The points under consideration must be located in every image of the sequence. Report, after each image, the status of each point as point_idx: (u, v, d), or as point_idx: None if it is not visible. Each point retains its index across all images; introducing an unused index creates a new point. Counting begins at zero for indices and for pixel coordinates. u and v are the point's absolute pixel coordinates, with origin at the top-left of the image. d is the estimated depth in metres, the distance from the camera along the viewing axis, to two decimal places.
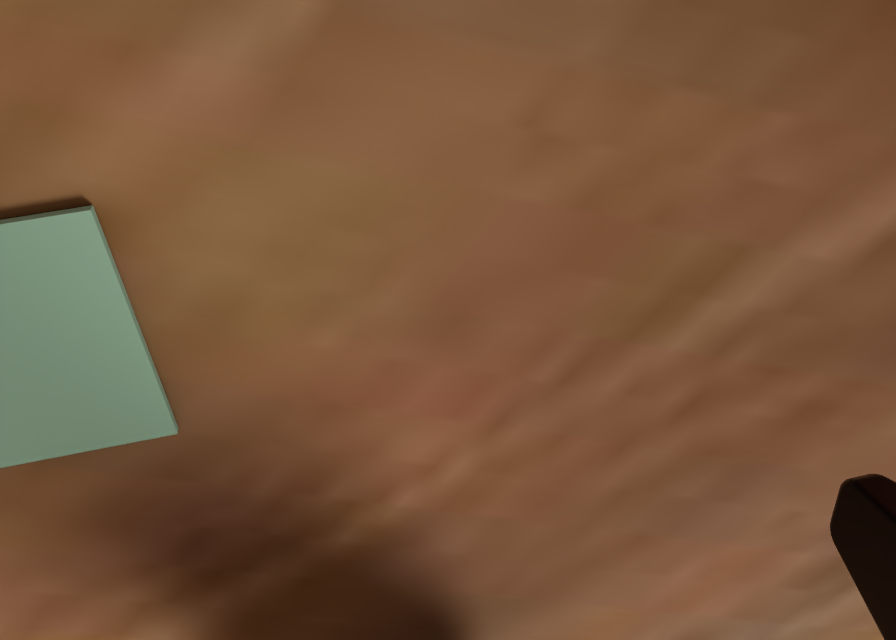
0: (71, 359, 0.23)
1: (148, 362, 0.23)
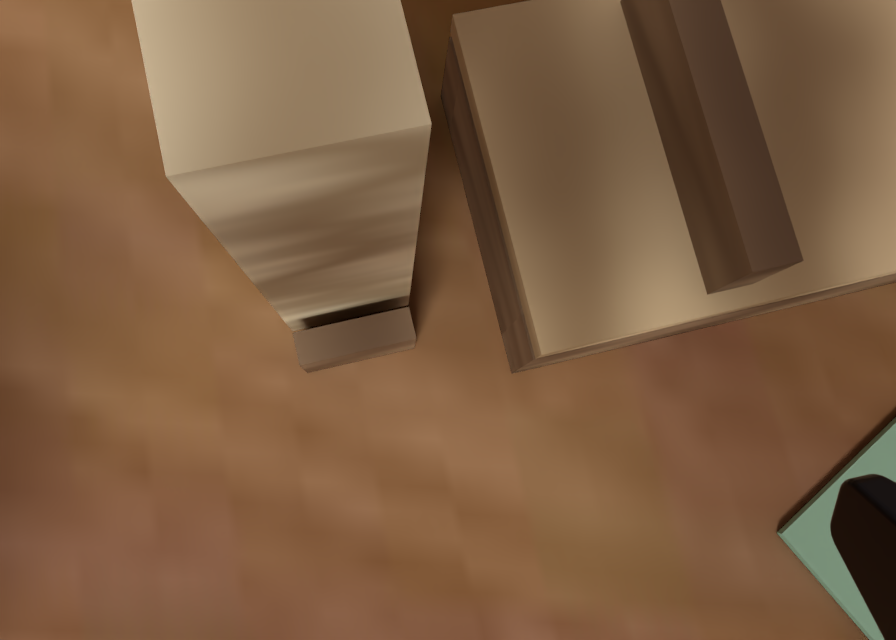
0: None
1: None
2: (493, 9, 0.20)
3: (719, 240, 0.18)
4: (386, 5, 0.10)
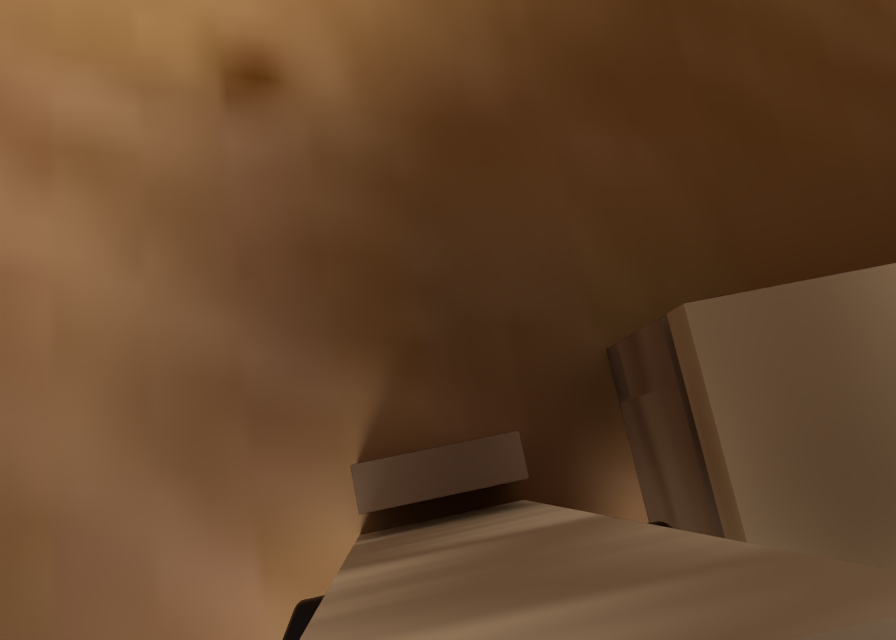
0: None
1: None
2: (744, 292, 0.13)
3: None
4: None
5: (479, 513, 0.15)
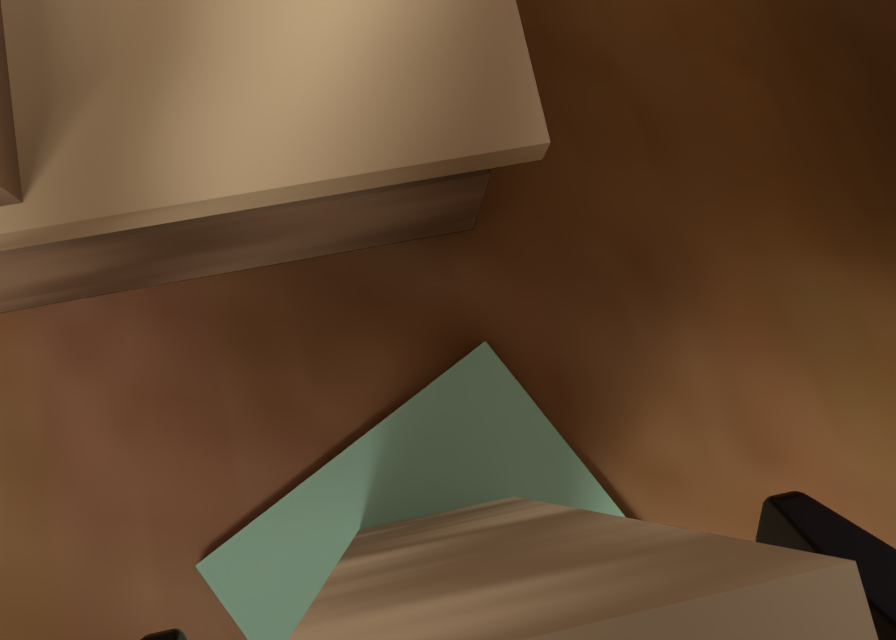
0: None
1: None
2: None
3: None
4: None
5: (471, 509, 0.16)
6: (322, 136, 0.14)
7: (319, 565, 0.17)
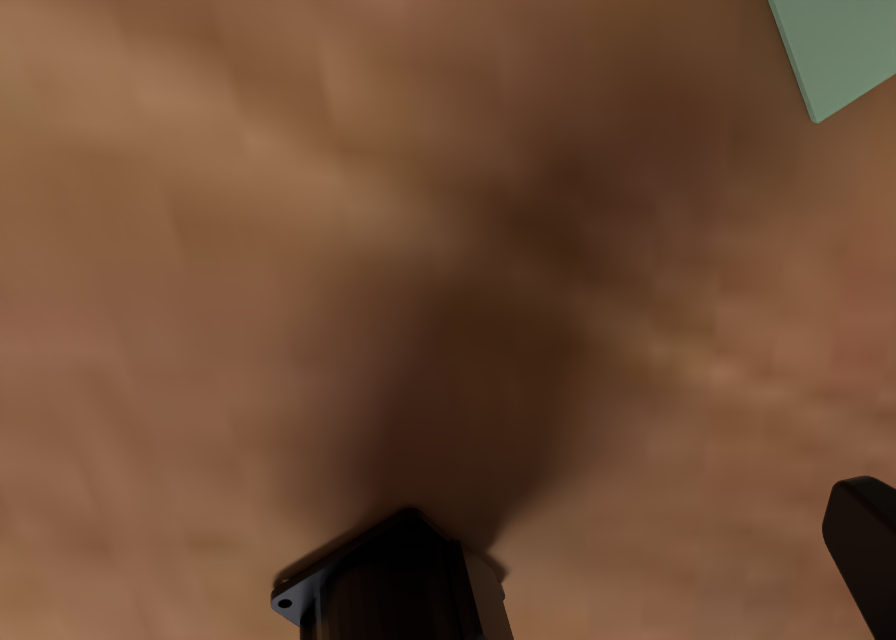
0: None
1: None
2: None
3: None
4: None
5: None
6: None
7: None
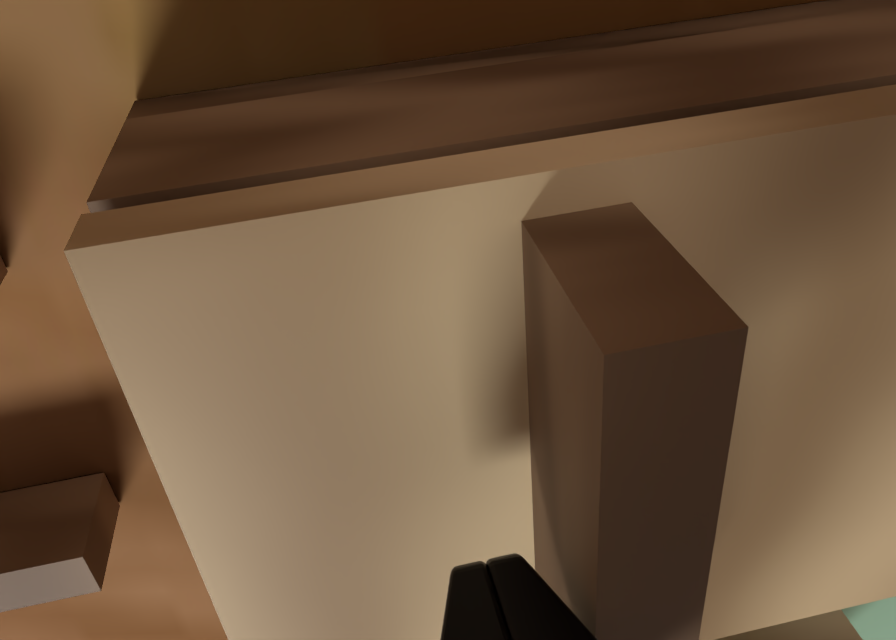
0: None
1: None
2: (184, 227, 0.07)
3: None
4: None
5: (813, 635, 0.20)
6: None
7: None
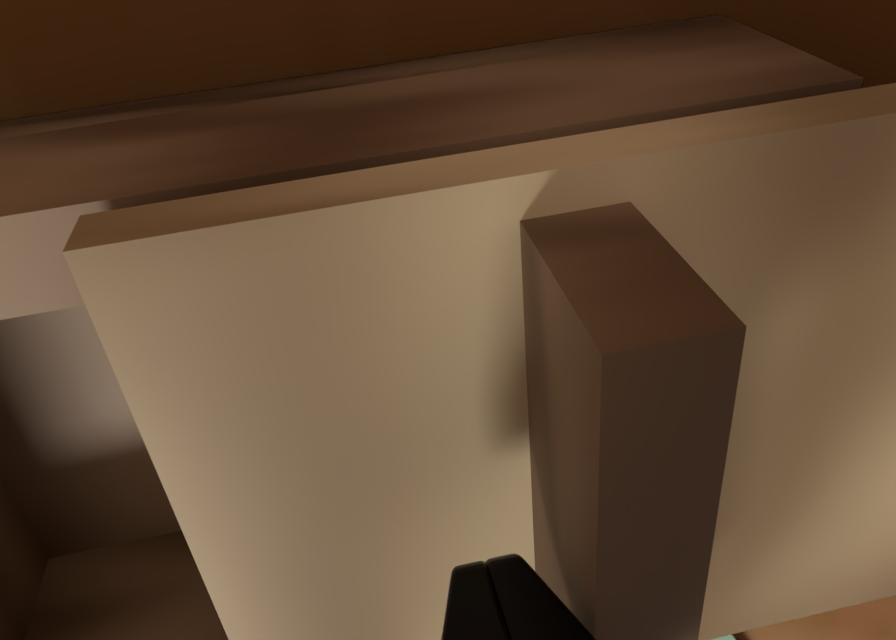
0: None
1: None
2: (182, 227, 0.07)
3: None
4: None
5: None
6: None
7: None
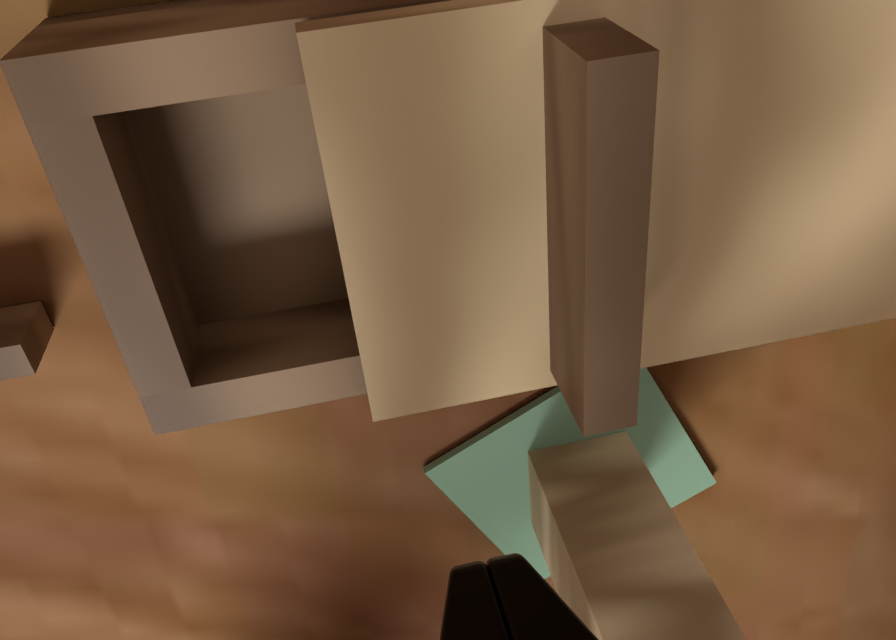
0: None
1: None
2: (358, 22, 0.13)
3: (568, 373, 0.17)
4: None
5: (608, 462, 0.25)
6: (802, 310, 0.19)
7: (500, 469, 0.26)
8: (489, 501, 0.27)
